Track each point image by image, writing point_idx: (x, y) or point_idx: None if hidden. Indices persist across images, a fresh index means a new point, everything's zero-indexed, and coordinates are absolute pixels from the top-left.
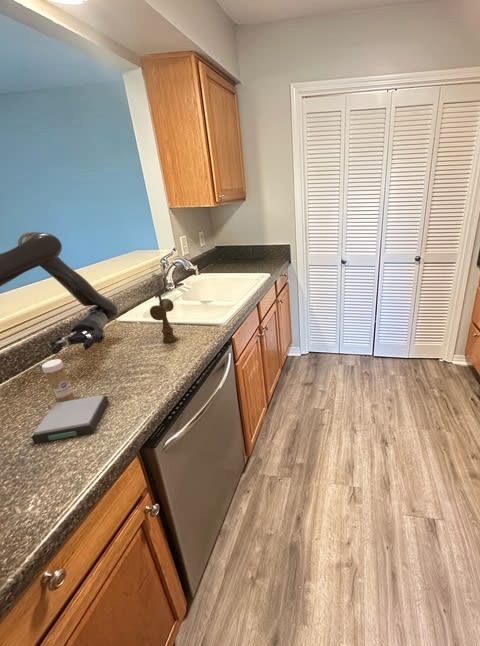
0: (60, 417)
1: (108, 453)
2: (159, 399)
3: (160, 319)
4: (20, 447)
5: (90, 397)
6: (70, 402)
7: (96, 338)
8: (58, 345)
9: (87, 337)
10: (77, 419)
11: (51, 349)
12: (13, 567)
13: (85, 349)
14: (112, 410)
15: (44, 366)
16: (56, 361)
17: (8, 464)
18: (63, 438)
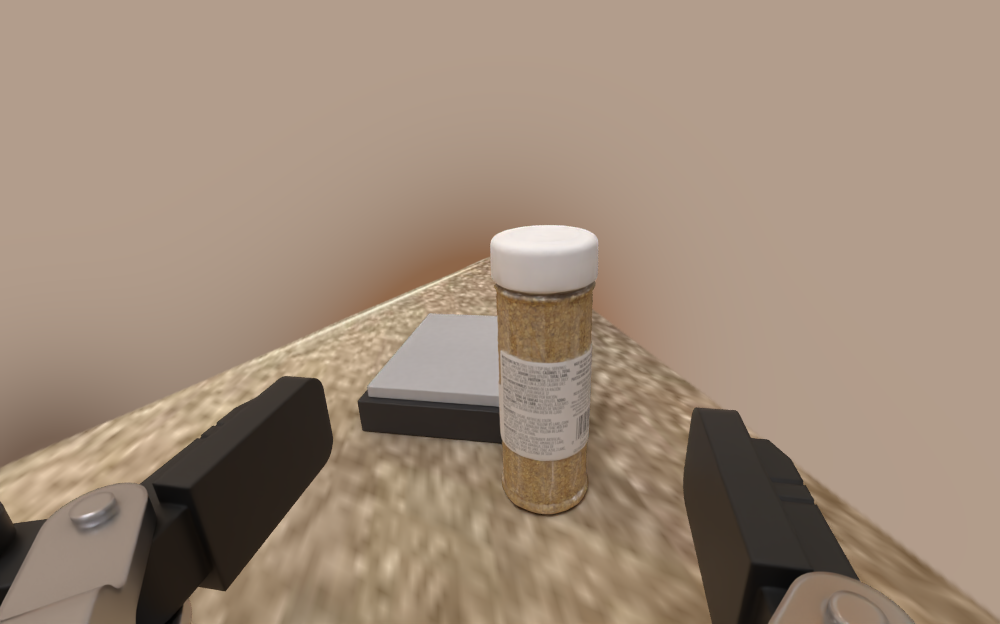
0: None
1: (402, 305)
2: (204, 391)
3: None
4: (613, 351)
5: (417, 388)
6: (495, 384)
7: (30, 523)
8: (723, 513)
9: (132, 553)
10: (458, 325)
11: (768, 448)
12: None
13: (325, 437)
14: (362, 392)
15: (569, 226)
16: (517, 236)
17: (609, 324)
18: None
